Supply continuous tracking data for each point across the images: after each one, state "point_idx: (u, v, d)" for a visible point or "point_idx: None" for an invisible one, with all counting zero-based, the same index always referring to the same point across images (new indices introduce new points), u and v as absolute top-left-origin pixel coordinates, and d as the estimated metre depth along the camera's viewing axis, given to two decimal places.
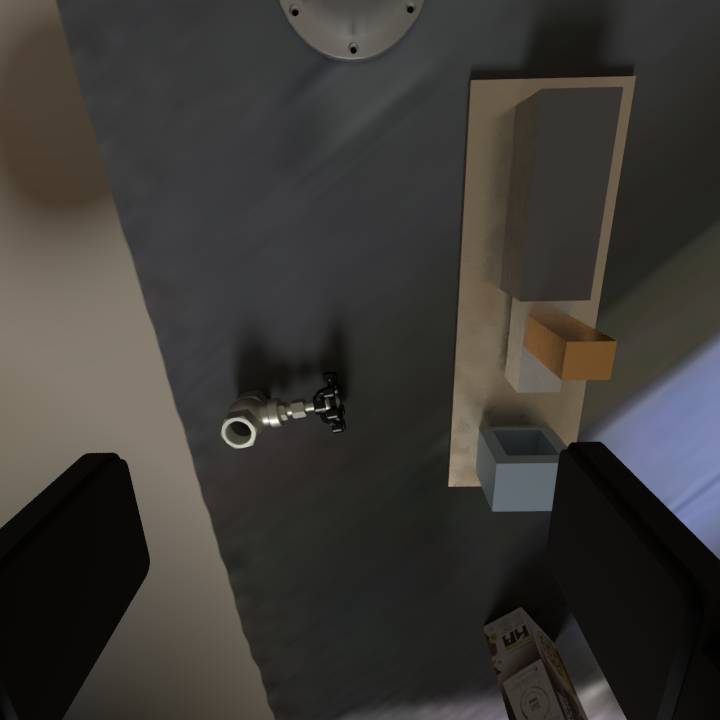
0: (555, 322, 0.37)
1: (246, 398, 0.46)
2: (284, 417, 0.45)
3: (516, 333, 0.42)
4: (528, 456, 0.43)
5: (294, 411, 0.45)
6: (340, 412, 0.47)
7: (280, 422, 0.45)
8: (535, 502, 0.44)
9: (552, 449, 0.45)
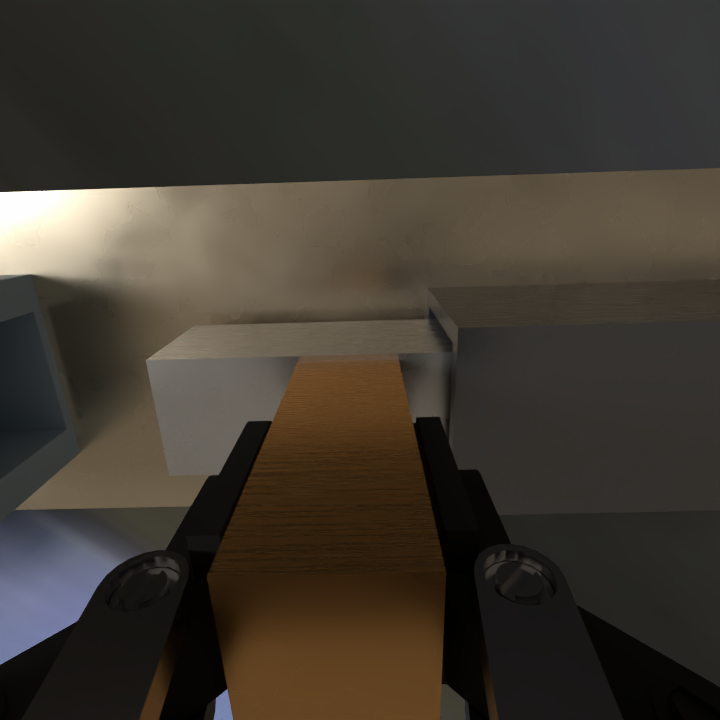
0: None
1: None
2: None
3: (329, 337, 0.15)
4: None
5: None
6: None
7: None
8: None
9: None
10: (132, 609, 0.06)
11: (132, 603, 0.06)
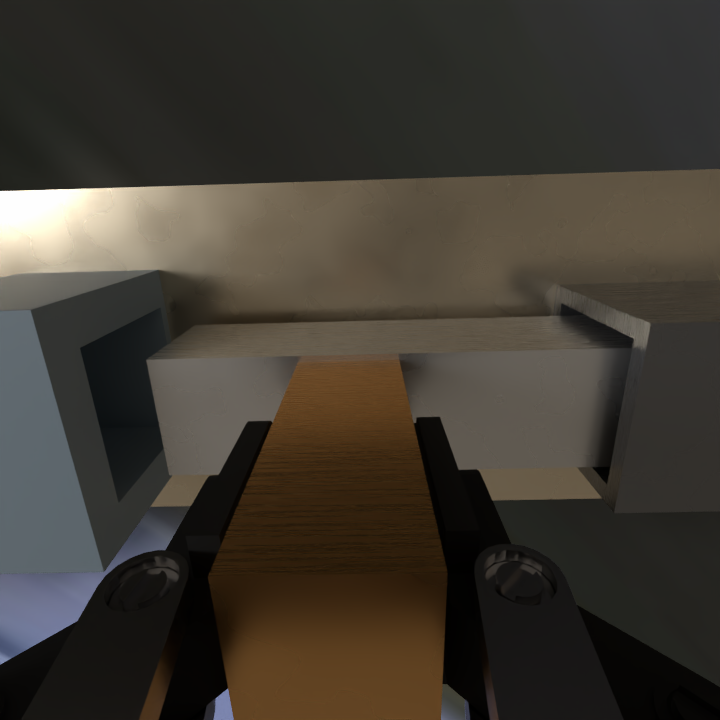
0: None
1: None
2: None
3: (330, 337, 0.15)
4: (91, 415, 0.13)
5: None
6: None
7: None
8: None
9: (131, 471, 0.16)
10: (132, 609, 0.06)
11: (132, 603, 0.06)
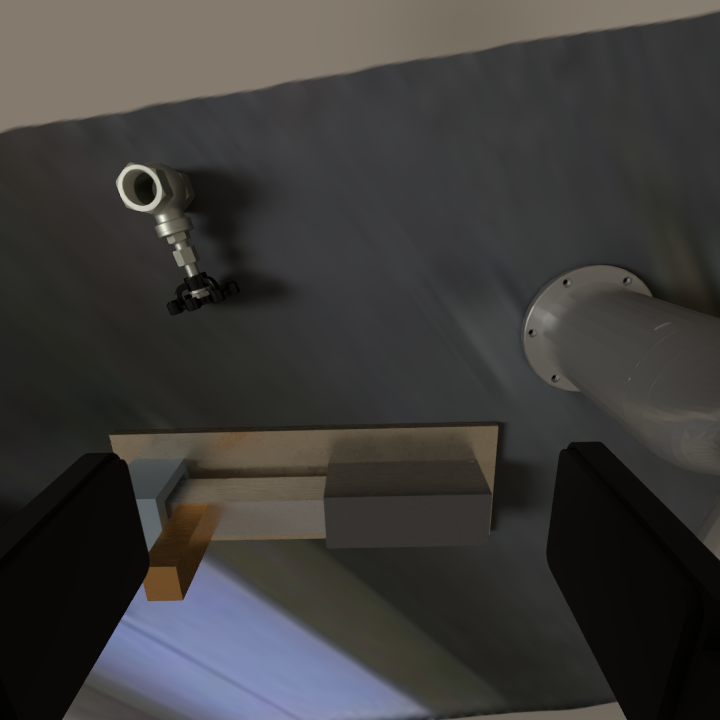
0: (201, 533, 0.42)
1: (184, 187, 0.37)
2: (171, 240, 0.37)
3: (193, 491, 0.45)
4: (166, 520, 0.43)
5: (182, 252, 0.38)
6: None
7: (164, 236, 0.37)
8: None
9: None
10: None
11: None
